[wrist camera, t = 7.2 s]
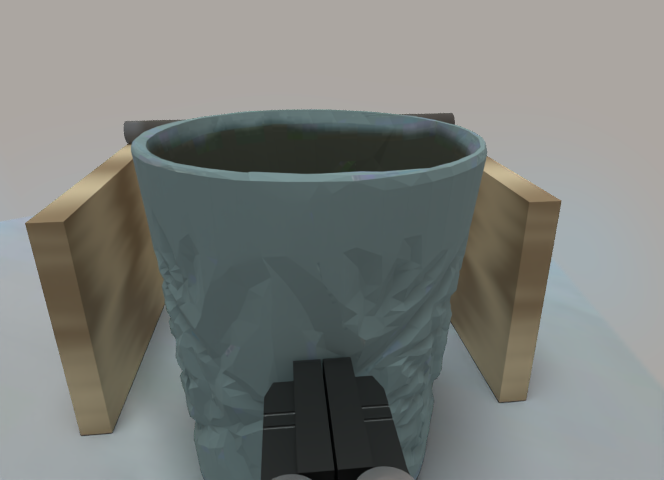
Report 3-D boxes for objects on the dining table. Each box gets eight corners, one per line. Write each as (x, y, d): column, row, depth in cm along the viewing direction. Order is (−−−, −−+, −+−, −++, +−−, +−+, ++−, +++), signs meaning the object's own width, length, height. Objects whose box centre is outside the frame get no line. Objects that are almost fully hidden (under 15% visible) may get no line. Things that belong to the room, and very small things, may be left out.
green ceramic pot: (146, 421, 21) (89, 126, 16) (340, 335, 26) (340, 99, 22) (274, 642, 13) (238, 207, 8) (508, 456, 19) (563, 133, 14)
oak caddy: (525, 400, 22) (567, 168, 18) (80, 435, 20) (15, 187, 16) (436, 266, 34) (448, 111, 30) (154, 281, 32) (128, 119, 28)
